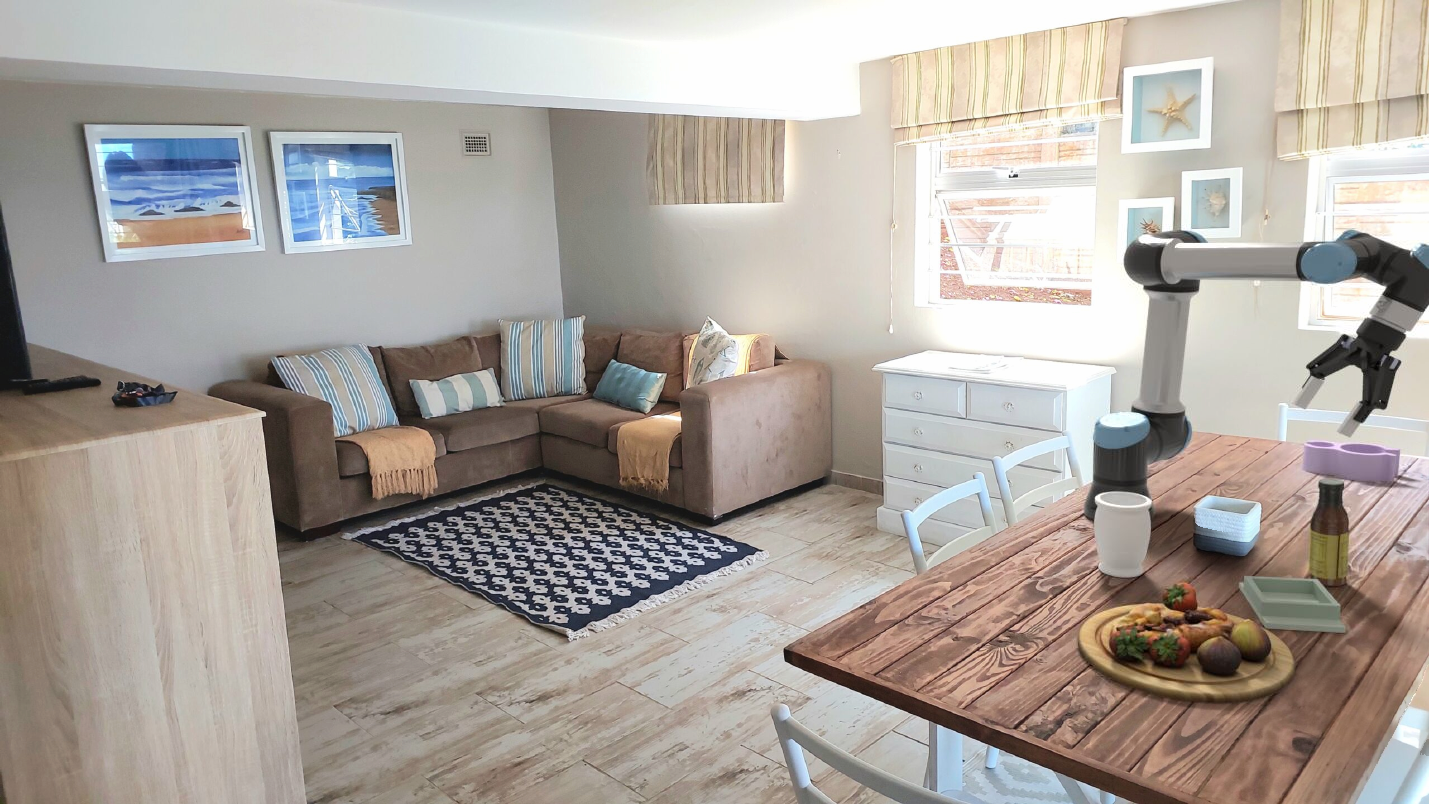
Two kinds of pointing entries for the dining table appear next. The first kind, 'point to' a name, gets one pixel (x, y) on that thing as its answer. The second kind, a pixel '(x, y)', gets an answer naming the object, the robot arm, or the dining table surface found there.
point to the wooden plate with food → (1186, 651)
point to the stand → (1293, 604)
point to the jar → (1122, 532)
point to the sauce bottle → (1329, 535)
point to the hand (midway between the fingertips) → (1320, 420)
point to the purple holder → (1351, 460)
